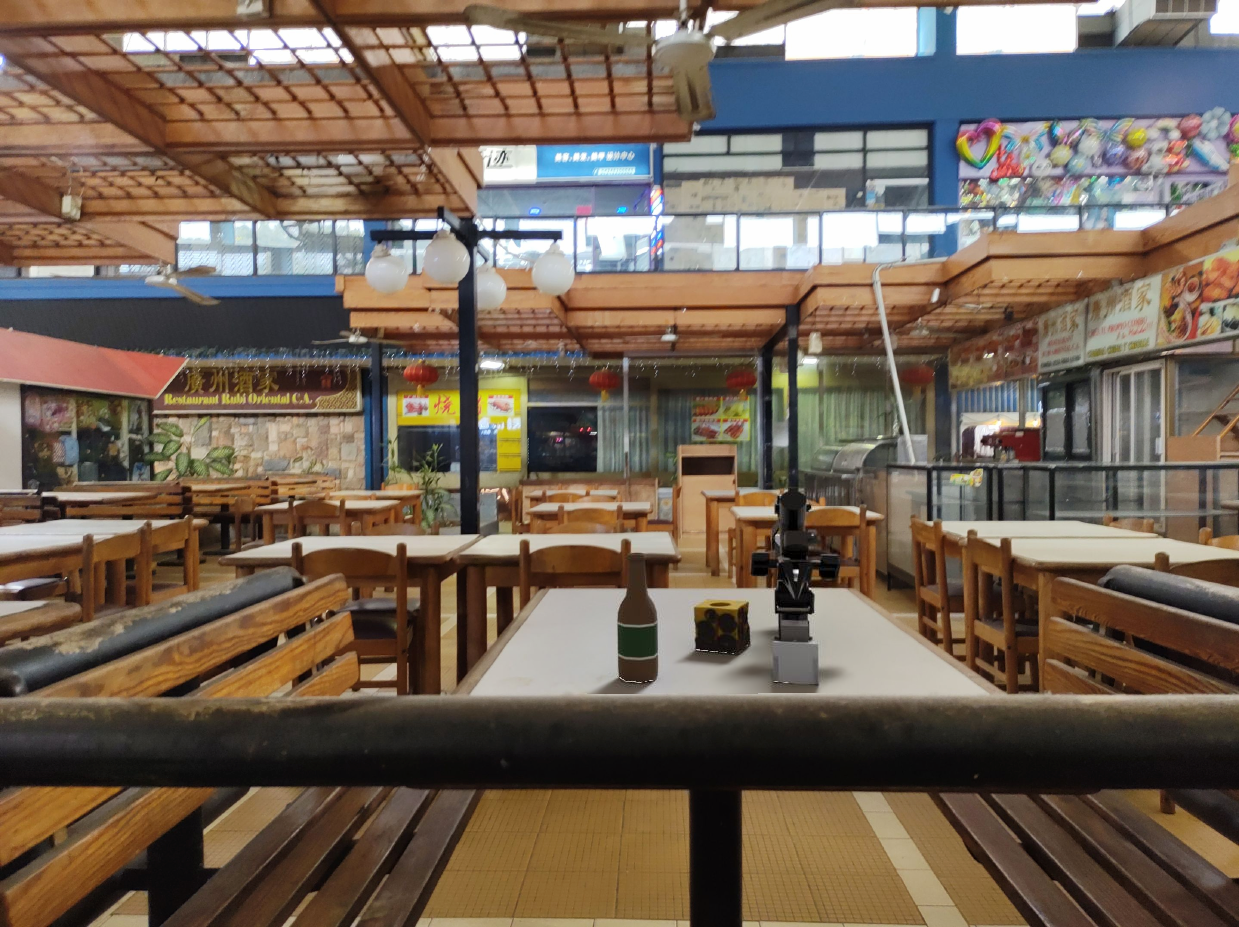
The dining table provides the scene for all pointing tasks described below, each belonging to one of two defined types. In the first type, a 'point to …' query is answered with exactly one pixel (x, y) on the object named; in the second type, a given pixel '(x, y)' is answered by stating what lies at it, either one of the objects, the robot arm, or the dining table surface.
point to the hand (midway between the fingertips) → (796, 598)
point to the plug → (794, 631)
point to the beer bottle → (637, 626)
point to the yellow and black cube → (722, 625)
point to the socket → (795, 662)
